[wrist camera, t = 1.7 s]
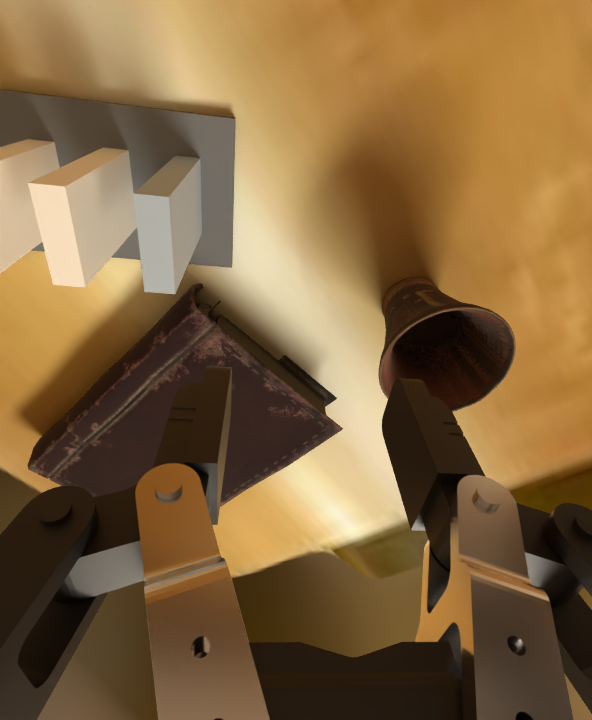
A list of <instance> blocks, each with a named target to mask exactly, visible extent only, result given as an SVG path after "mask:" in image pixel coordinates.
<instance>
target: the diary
mask: <svg viewBox="0 0 592 720" xmlns="http://www.w3.org/2000/svg"><path fill="white" fill-rule="evenodd" d="M202 288H203V285H202V284H197V285H193V286H192V287H191V288H190V289H189V290H188V291H187V292H186V293H185V294H184V295H183V297H182V298H181V299H180V300H179V301H178V302H177V303H176V304H175V305H174V306H173V307H172V308H171V309H170V310H169V311H168V312H167V313H166V314H165V315H164V316H163V317H162V318H161V319H160V320H159V321H158V323H157V324H156V325H155V326H154V327H153V328H152V329H151V330H150V331H149V332H148V333H147V334H146V335H145V336H144V337H143V338H142V339H141V340H140V341H139V342H138V343H137V344H136V345H135V346H134V347H133V348H132V349H130V350H129V351H128V352H127V353H126V354H125V355H124V356H123V357H122V358H121V359H120V360H119V361H118V362H117V363H116V364H115V365H114V366H113V367H112V368H111V369H110V370H108V371H107V372H106V373H105V374H104V375H103V376H102V377H101V378H100V379H99V380H98V381H97V382H96V384H95V385H94V386H93V387H92V388H91V389H90V390H89V391H88V392H87V393H86V394H85V395H84V396H83V397H82V398H81V399H80V400H79V402H78V403H77V404H76V405H75V406H74V407H73V408H72V409H71V410H70V411H69V412H68V413H67V414H66V415H65V416H64V417H63V418H62V419H61V420H59V421H58V422H57V423H56V424H55V425H54V426H53V427H52V428H51V429H50V430H49V431H48V432H47V433H45V434H44V435H43V436H42V437H41V438H40V439H39V441H38V442H37V444H36V445H35V447H34V448H33V451H32V455H31V457H30V460H29V463H28V469H29V470H31V471H33V472H35V473H37V474H39V475H41V476H43V477H45V478H50V480H51V481H53V482H55V483H57V484H59V485H61V486H78V487H81V488H84V489H85V490H87V491H88V492H89V493H90V494H91V495H92V497H98V496H102V495H106V494H110V493H114V492H119V491H122V490H125V489H128V488H130V487H132V486H134V485H136V484H137V483H138V482H139V481H140V479H141V478H142V477H143V476H144V475H145V474H146V473H147V472H148V471H150V470H151V469H152V468H153V465H154V463H155V459H156V456H157V453H158V449H159V446H160V443H161V440H162V436H163V433H164V430H165V426H166V423H167V421H168V416H169V413H170V410H171V407H172V403H173V400H174V397H175V394H176V393H177V391H178V390H179V389H180V388H181V387H182V386H183V385H184V384H185V383H186V382H192V383H202V382H203V377H204V373H205V369H206V366H217V367H232V388H231V416H230V427H229V435H228V444H227V452H226V460H225V468H224V476H223V484H222V492H221V500H220V507H221V506H222V505H224V504H225V503H227V502H228V501H230V500H231V499H233V498H234V497H236V496H237V495H239V494H240V493H242V492H243V491H245V490H246V489H248V488H250V487H252V486H253V485H255V484H257V483H259V482H260V481H262V480H264V479H266V478H267V477H269V476H271V475H273V474H274V473H276V472H278V471H280V470H281V469H283V468H285V467H287V466H288V465H290V464H291V463H293V462H294V461H296V460H297V459H299V458H300V457H302V456H303V455H305V454H306V453H308V452H309V451H311V450H312V449H314V448H315V447H317V446H318V445H320V444H321V443H323V442H324V441H326V440H327V439H329V438H330V437H332V436H333V435H335V434H336V433H338V432H339V431H341V430H342V429H343V428H342V427H340V426H339V425H338V424H337V423H335V422H334V421H333V420H332V419H330V418H329V417H328V416H327V415H326V412H325V406H327V405H329V404H330V403H331V402H333V401H334V400H336V399H337V398H336V397H335V396H334V395H332V394H331V393H330V392H329V391H328V390H326V389H325V388H324V387H323V386H322V385H320V384H319V383H318V382H317V381H316V380H314V379H313V378H312V377H311V376H310V375H308V374H307V373H306V372H305V371H304V370H302V369H301V368H300V367H299V366H297V365H296V364H295V363H294V362H293V361H291V360H290V359H289V358H288V357H287V356H284V357H282V358H281V359H280V360H277V359H275V358H274V357H273V356H272V355H270V354H269V353H268V352H267V351H266V350H264V349H263V348H262V347H261V346H260V345H258V344H257V343H256V342H255V341H253V340H252V339H251V338H250V337H249V336H247V335H246V334H245V333H244V332H243V331H241V330H240V329H239V328H238V327H236V326H235V325H234V324H233V323H232V322H230V321H229V320H228V319H227V318H226V317H224V316H223V315H222V316H221V317H220V318H218V319H217V320H216V321H212V320H211V319H210V318H209V317H208V315H209V314H210V313H211V312H212V311H213V310H214V309H215V308H214V307H215V306H216V305H217V304H219V303H220V302H221V301H219V302H218V303H217V304H216V305H215V306H214V307H212V306H211V305H203V304H199V305H198V306H197V307H196V303H195V299H194V296H195V295H196V294H197V293H198V292H199V291H200V290H201V289H202Z"/></svg>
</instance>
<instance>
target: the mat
mask: <svg viewBox="0 0 592 720" xmlns="http://www.w3.org/2000/svg"><path fill="white" fill-rule="evenodd" d="M27 139H32V140H41V141H50V142H55V147H56V152H57V157H58V162H59V167H63V166H65V165H67V164H69V163H71V162H73V161H75V160H77V159H80V158H82V157H84V156H86V155H88V154H90V153H92V152H95V151H97V150H99V149H101V148H103V147H104V148H113V149H122V150H129V158H130V167H131V176H132V184H133V193H134V192H136V191H137V190H138V189H139V188H140V187H141V186H142V185H143V184H144V183H146V182H147V181H148V180H149V179H150V178H151V177H152V176H153V175H155V174H156V173H157V172H158V171H159V170H160V169H161V168H162V167H163V166H165V165H166V164H167V163H168V162H169V161H170V160H171V159H172V158H173V157H175V156H184V157H193V158H200V167H201V212H202V234H201V236H200V239H199V241H198V243H197V245H196V248H195V250H194V252H193V255H192V257H191V259H190V261H189V264H196V265H208V266H219V267H231V268H232V250H233V204H234V158H235V118H230V117H222V116H214V115H206V114H198V113H190V112H181V111H173V110H165V109H157V108H149V107H140V106H132V105H124V104H116V103H108V102H99V101H91V100H83V99H75V98H67V97H59V96H50V95H42V94H34V93H26V92H18V91H9V90H1V89H0V147H3V146H6V145H10V144H13V143H16V142H20V141H23V140H27ZM32 250H34V251H45V250H44V246H43V242H41V243H40V244H39V245H37V246H36V247H35V248H33V249H32ZM112 257H115V258H126V259H138V260H141V257H140V249H139V240H138V231H137V228H136V229H135V230H134V231H133V232H132V234H131V235H130V236H129V237H128V238H127V239H126V241H125V242H124V243H123V244H122V245H121V246H120V248H119V249H118V250H117V251H116V252H115V253H114V255H113V256H112Z"/></svg>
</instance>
